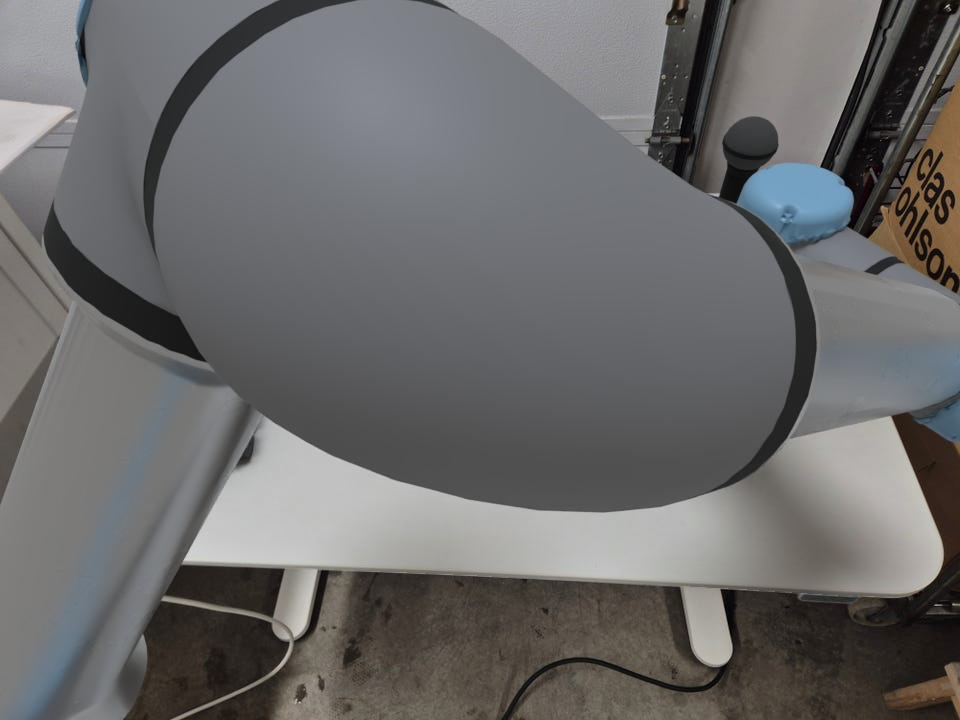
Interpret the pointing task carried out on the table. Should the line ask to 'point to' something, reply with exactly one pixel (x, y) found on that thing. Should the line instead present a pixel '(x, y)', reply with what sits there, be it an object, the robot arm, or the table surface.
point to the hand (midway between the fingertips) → (472, 197)
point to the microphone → (746, 153)
